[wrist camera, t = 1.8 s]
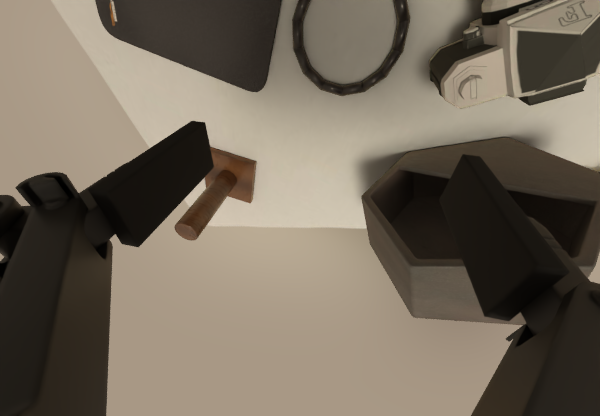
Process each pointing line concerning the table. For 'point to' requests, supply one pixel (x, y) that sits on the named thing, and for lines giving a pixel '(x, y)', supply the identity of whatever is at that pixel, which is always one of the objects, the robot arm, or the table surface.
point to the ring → (397, 50)
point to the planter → (437, 234)
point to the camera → (521, 52)
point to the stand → (218, 191)
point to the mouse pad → (201, 34)
